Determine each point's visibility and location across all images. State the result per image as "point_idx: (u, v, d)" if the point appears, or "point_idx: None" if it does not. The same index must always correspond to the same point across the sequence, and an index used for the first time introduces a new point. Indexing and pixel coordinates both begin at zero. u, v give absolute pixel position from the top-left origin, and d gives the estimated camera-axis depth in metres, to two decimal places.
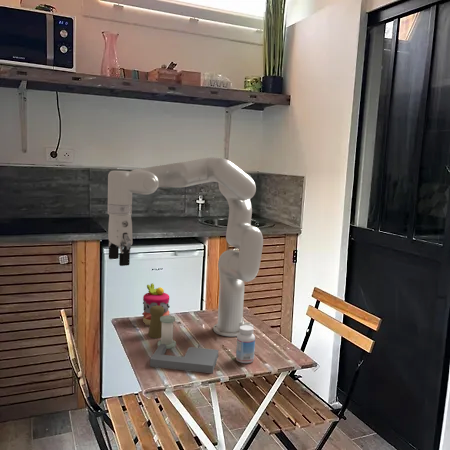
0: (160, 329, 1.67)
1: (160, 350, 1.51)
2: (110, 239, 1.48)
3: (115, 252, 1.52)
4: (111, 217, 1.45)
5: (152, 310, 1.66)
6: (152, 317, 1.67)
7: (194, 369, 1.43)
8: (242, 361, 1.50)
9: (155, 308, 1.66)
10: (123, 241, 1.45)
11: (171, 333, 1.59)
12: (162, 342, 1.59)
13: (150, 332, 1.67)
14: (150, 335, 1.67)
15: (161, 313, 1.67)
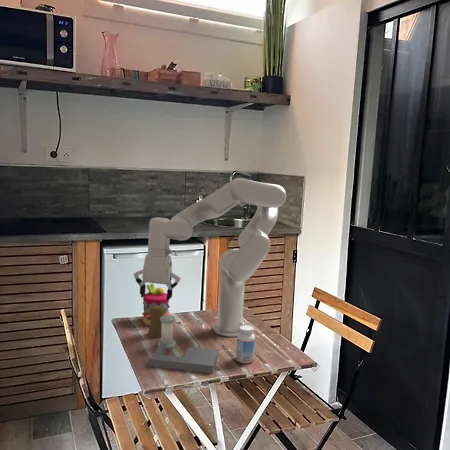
0: (160, 329, 1.67)
1: (160, 350, 1.51)
2: (149, 279, 1.64)
3: (144, 290, 1.68)
4: (154, 260, 1.63)
5: (152, 310, 1.66)
6: (152, 317, 1.67)
7: (194, 369, 1.43)
8: (242, 361, 1.50)
9: (155, 308, 1.66)
10: None
11: (171, 333, 1.59)
12: (162, 342, 1.59)
13: (150, 332, 1.67)
14: (150, 335, 1.67)
15: (161, 313, 1.67)
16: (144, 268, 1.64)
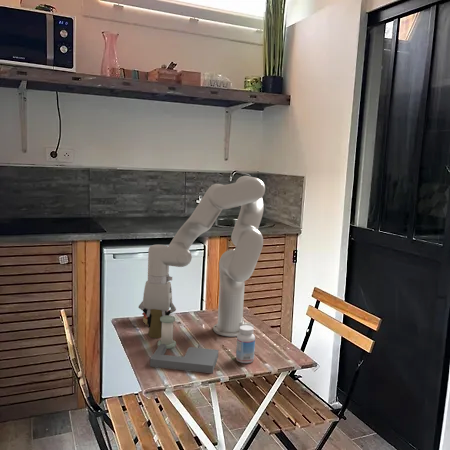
0: (160, 329, 1.67)
1: (160, 350, 1.51)
2: (149, 306, 1.66)
3: None
4: (154, 287, 1.64)
5: (152, 310, 1.66)
6: (152, 317, 1.67)
7: (194, 369, 1.43)
8: (242, 361, 1.50)
9: None
10: None
11: (171, 333, 1.59)
12: (162, 342, 1.59)
13: (150, 332, 1.67)
14: (150, 335, 1.67)
15: (161, 313, 1.67)
16: (144, 295, 1.66)
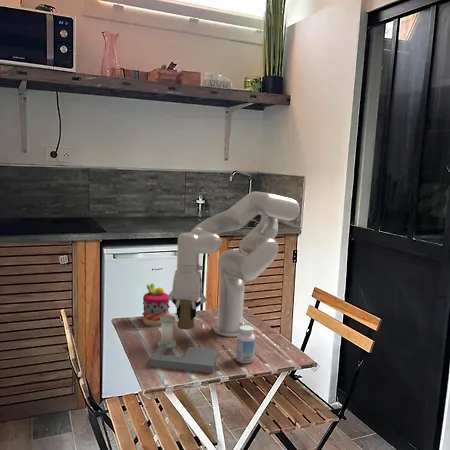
0: (190, 320, 1.62)
1: (160, 350, 1.51)
2: (179, 296, 1.61)
3: None
4: (183, 276, 1.59)
5: (181, 300, 1.61)
6: (181, 308, 1.62)
7: (194, 369, 1.43)
8: (242, 361, 1.50)
9: None
10: None
11: (171, 333, 1.59)
12: (162, 342, 1.59)
13: (179, 323, 1.62)
14: (179, 326, 1.62)
15: (191, 304, 1.61)
16: (174, 285, 1.60)
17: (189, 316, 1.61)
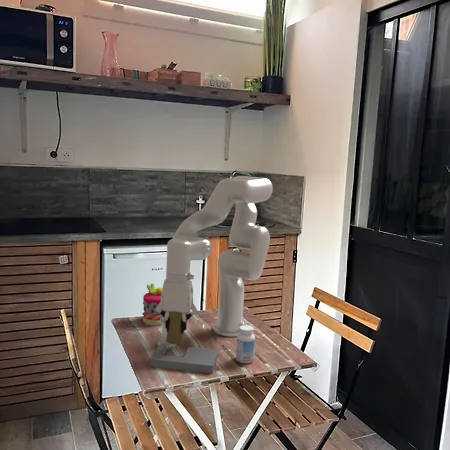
0: (180, 334, 1.48)
1: (160, 350, 1.51)
2: (168, 308, 1.47)
3: None
4: (173, 286, 1.46)
5: (171, 312, 1.47)
6: (171, 320, 1.48)
7: (194, 369, 1.43)
8: (242, 361, 1.50)
9: None
10: None
11: None
12: (162, 342, 1.59)
13: (169, 337, 1.49)
14: (169, 341, 1.48)
15: (181, 316, 1.48)
16: (162, 296, 1.47)
17: (179, 329, 1.48)
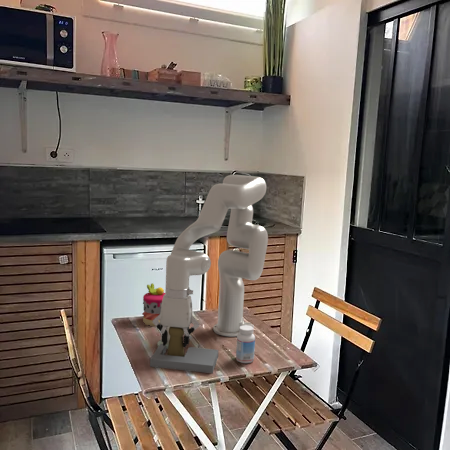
0: (180, 351, 1.49)
1: (160, 350, 1.51)
2: (168, 323, 1.48)
3: (166, 337, 1.52)
4: (172, 302, 1.46)
5: (171, 330, 1.48)
6: (171, 338, 1.49)
7: (194, 369, 1.43)
8: (242, 361, 1.50)
9: (174, 328, 1.49)
10: None
11: None
12: (162, 342, 1.59)
13: None
14: None
15: (181, 333, 1.49)
16: (162, 311, 1.48)
17: (179, 347, 1.49)
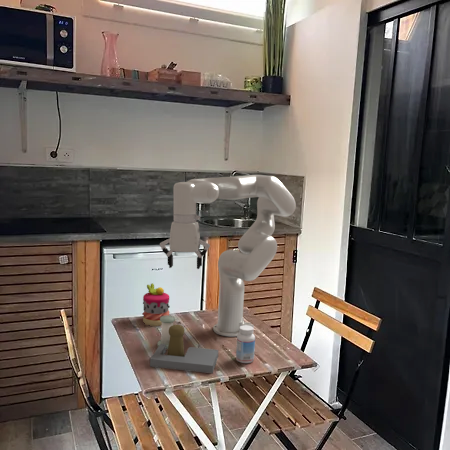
0: (180, 351, 1.49)
1: (160, 350, 1.51)
2: (177, 248, 1.55)
3: (172, 260, 1.59)
4: (181, 227, 1.54)
5: (171, 330, 1.48)
6: (171, 338, 1.49)
7: (194, 369, 1.43)
8: (242, 361, 1.50)
9: (174, 328, 1.49)
10: None
11: None
12: (162, 342, 1.59)
13: None
14: None
15: (181, 333, 1.49)
16: (171, 237, 1.55)
17: (179, 347, 1.49)
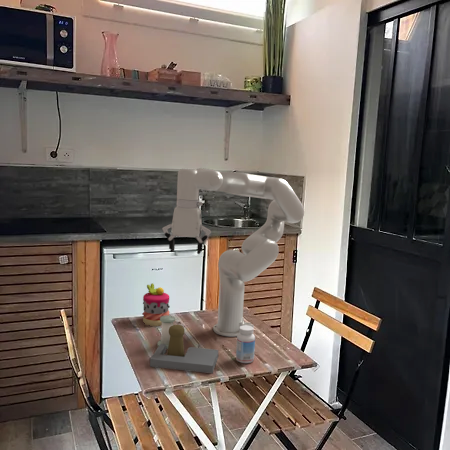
0: (180, 351, 1.49)
1: (160, 350, 1.51)
2: (179, 233, 1.60)
3: (173, 245, 1.63)
4: (183, 212, 1.58)
5: (171, 330, 1.48)
6: (171, 338, 1.49)
7: (194, 369, 1.43)
8: (242, 361, 1.50)
9: (174, 328, 1.49)
10: None
11: None
12: (162, 342, 1.59)
13: None
14: None
15: (181, 333, 1.49)
16: (173, 221, 1.59)
17: (179, 347, 1.49)
